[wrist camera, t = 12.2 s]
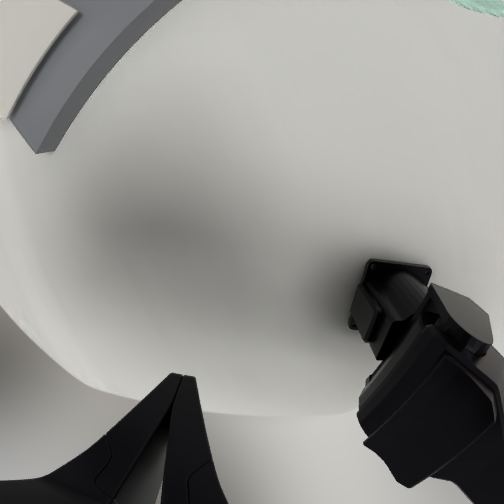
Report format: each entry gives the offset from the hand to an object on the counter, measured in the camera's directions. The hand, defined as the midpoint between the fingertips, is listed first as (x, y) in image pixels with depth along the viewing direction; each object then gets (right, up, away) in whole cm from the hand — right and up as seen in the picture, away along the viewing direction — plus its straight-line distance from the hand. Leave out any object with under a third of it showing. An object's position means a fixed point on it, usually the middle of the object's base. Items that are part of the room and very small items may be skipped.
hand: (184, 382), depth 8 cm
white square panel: (-14, +18, +4) cm, 23 cm away
